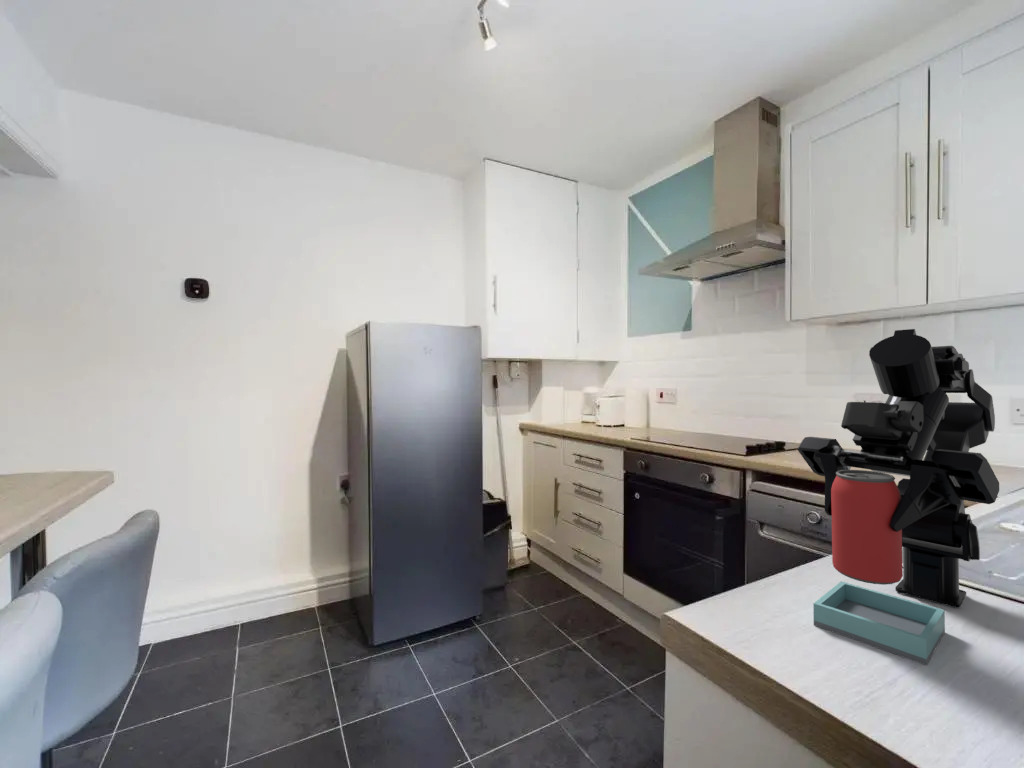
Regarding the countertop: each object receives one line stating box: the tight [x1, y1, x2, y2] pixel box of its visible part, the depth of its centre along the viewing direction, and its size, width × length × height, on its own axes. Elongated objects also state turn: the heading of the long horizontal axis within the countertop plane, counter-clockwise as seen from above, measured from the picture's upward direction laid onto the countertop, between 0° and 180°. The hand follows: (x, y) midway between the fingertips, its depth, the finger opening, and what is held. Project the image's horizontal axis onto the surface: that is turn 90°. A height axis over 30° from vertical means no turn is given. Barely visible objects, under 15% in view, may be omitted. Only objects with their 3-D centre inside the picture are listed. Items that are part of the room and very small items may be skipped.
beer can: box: [831, 469, 903, 586], centre depth 54 cm, size 7×7×12 cm
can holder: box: [813, 580, 946, 666], centre depth 54 cm, size 10×10×3 cm
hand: (858, 520), depth 53 cm, fingers closed on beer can, 6 cm apart
